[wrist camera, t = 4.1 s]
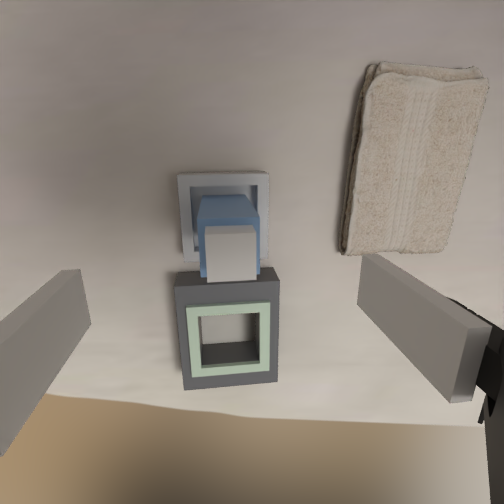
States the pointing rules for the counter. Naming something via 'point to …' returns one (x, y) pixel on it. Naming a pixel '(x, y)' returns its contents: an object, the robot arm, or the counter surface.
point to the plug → (228, 238)
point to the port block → (227, 354)
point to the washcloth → (409, 157)
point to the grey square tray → (220, 184)
